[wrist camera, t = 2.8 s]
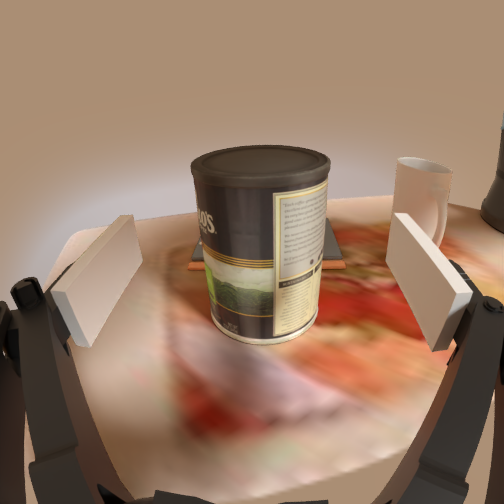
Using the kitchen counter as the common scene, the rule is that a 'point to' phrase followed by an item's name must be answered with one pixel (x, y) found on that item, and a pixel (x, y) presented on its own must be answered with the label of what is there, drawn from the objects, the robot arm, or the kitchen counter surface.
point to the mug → (423, 194)
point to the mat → (329, 248)
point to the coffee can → (262, 238)
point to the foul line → (324, 265)
